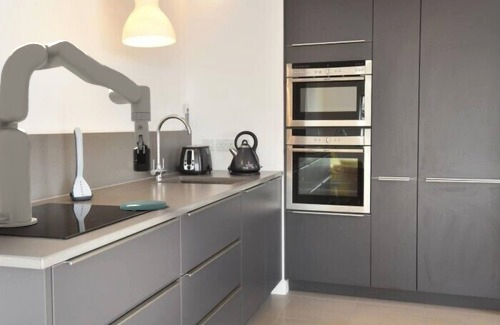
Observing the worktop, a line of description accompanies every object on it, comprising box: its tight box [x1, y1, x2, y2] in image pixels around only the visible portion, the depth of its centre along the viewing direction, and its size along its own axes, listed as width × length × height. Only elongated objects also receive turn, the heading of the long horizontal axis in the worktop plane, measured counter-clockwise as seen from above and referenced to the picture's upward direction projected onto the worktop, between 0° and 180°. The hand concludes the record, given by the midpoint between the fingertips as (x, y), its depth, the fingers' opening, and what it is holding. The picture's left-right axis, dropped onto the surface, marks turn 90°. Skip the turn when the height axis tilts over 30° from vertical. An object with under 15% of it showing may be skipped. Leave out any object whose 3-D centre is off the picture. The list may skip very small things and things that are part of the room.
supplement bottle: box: [132, 142, 152, 173], centre depth 198 cm, size 7×7×12 cm
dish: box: [119, 199, 168, 212], centre depth 199 cm, size 18×18×2 cm
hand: (142, 162), depth 198 cm, fingers closed on supplement bottle, 6 cm apart
